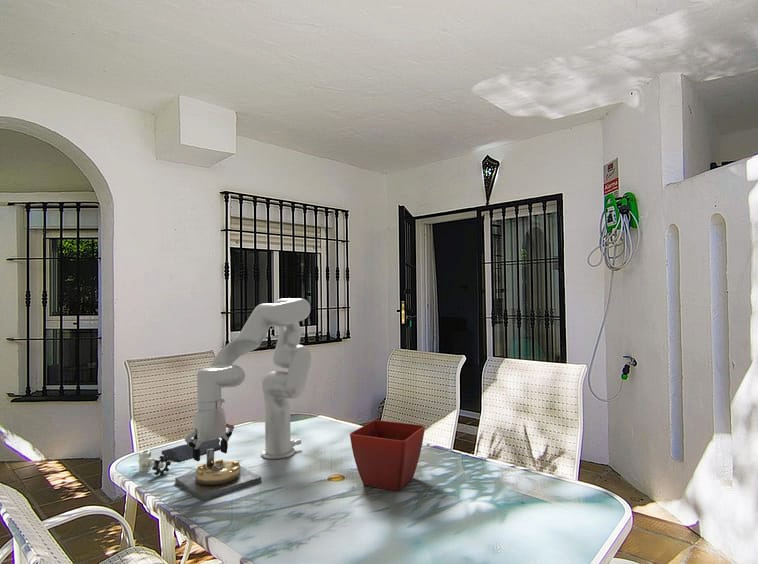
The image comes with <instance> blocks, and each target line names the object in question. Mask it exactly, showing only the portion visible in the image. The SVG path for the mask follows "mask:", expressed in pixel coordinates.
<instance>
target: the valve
mask: <svg viewBox="0 0 758 564" xmlns="http://www.w3.org/2000/svg"><path fill="white" fill-rule="evenodd" d="M151 456H152V451H151V450H148V449H147V450H141V451H139V453H138V457H139V458H138V466H139V467H138V472H139V473H146V472H150V471H151V470H152V471H155V472H154V476H158V475H159V476H164V475H165V472H169V471H170V468H169V467H168V466H171V464H172V462H171V461H169V460H170V458H169V457H167V456H164V455H160V456H159V460H158V459H155V458H152V457H151Z"/></svg>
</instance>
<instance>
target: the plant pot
mask: <svg viewBox="0 0 758 564" xmlns="http://www.w3.org/2000/svg"><path fill="white" fill-rule="evenodd" d="M425 428H426V426H425V425H424V424H423V425H422V424H414V423H405V422H396V421H387V420H379V419H373V420H372V421H370V422H368V423H366V424H365V425H363V426H360V427H359V428H358V429H355V430H353V431H352V432H350V433H349V439H350V443H351V445H350V446H351V449H352V454H353V457H354V462H355V465H356V469H357V471H358V474H359V477H360V480H361V482H362V484H363V486H367V487H373V488H379V489H384V490H387V491H393V492H394V491H395V492H399V491H401V490H403V489H404V487H405V486H406V485H407V484H408V483H409V482H411V480H413V478H414V476H415V473H416V470H417V467H418V463H419V459H420V455H421V453H422V452H421V451H422V447H423V441H424V437H425Z"/></svg>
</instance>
